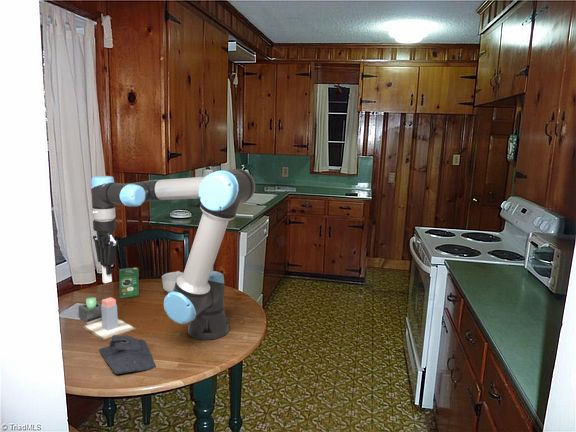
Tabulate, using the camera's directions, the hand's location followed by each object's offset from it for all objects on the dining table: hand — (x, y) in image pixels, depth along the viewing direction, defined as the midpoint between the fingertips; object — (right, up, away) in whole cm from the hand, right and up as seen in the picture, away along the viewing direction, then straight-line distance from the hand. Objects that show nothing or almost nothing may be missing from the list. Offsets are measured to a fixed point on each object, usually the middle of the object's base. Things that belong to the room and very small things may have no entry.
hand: (107, 281), depth 158 cm
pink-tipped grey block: (0, -18, +3) cm, 18 cm away
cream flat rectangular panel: (-1, -18, +4) cm, 18 cm away
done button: (-11, -13, +11) cm, 21 cm away
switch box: (-11, -16, +12) cm, 23 cm away
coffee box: (-5, -12, +35) cm, 37 cm away
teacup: (+13, -11, +44) cm, 48 cm away
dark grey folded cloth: (+14, -23, -17) cm, 32 cm away
